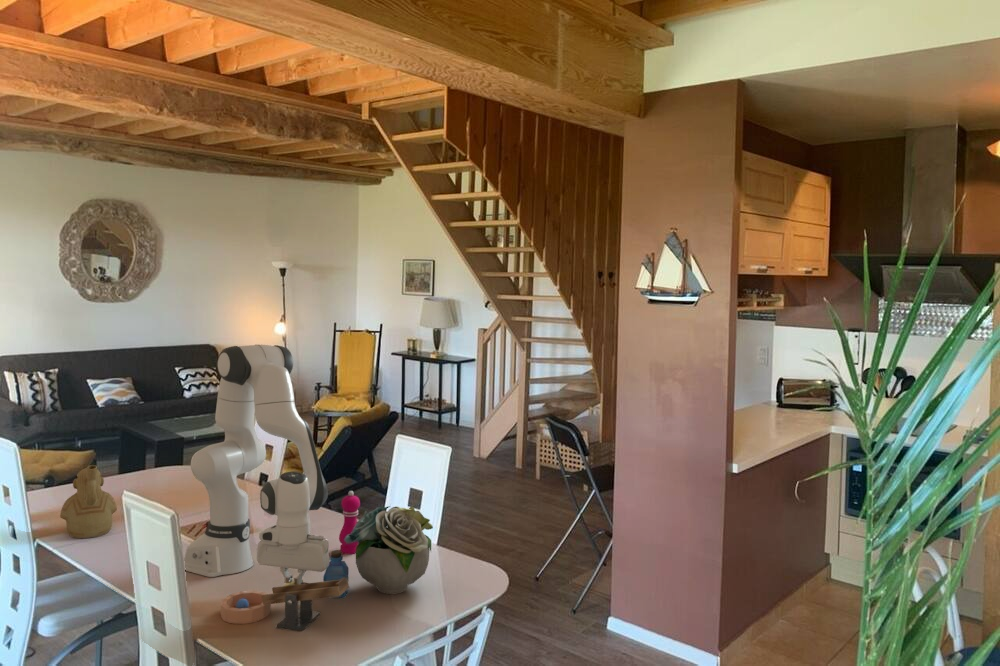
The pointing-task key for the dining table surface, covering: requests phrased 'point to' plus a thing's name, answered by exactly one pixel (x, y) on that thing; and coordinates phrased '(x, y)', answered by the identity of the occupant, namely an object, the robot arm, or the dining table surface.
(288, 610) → the fulcrum
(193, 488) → the dining table surface
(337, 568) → the perfume bottle
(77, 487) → the ceramic vessel
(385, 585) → the flower arrangement
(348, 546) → the pepper mill
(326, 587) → the lever
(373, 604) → the dining table surface
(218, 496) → the robot arm
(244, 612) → the orange round tray
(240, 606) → the ball
